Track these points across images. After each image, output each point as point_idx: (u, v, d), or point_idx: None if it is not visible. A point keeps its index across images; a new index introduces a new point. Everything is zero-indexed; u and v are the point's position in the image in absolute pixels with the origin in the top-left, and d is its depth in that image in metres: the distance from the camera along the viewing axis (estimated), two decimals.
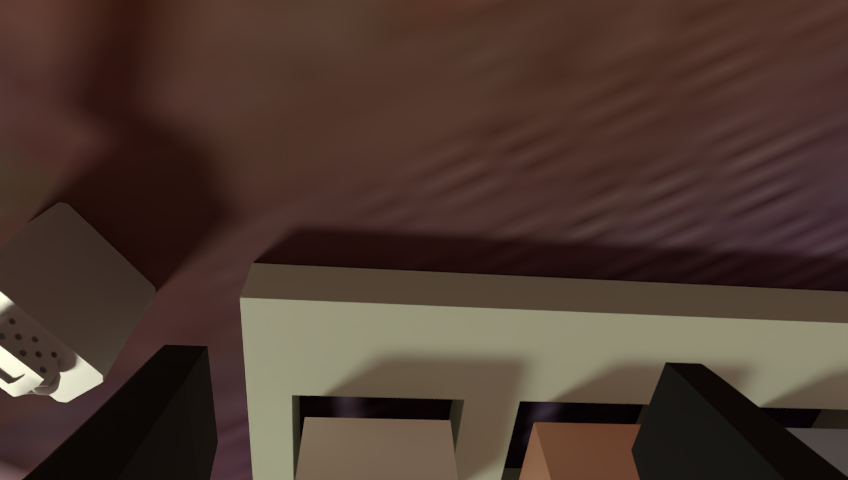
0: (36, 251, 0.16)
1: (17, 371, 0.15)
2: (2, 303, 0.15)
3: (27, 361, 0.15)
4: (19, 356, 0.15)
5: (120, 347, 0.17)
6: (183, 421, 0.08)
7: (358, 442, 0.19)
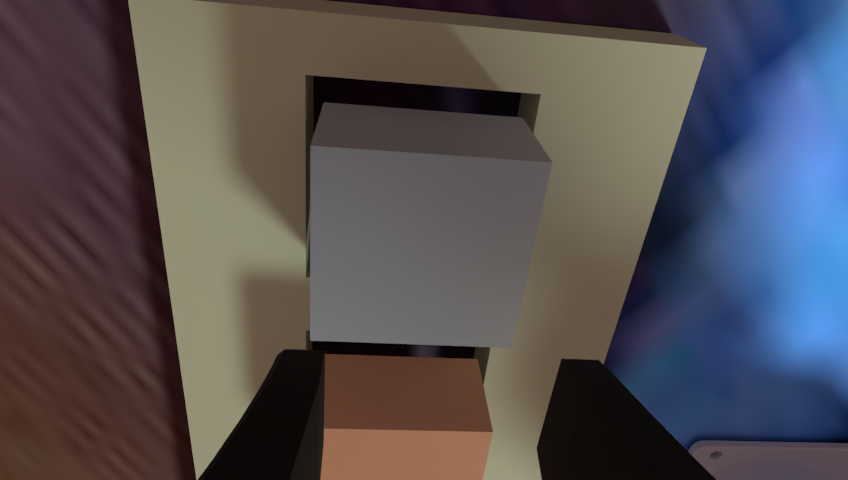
0: None
1: None
2: None
3: None
4: None
5: None
6: (315, 424, 0.08)
7: None
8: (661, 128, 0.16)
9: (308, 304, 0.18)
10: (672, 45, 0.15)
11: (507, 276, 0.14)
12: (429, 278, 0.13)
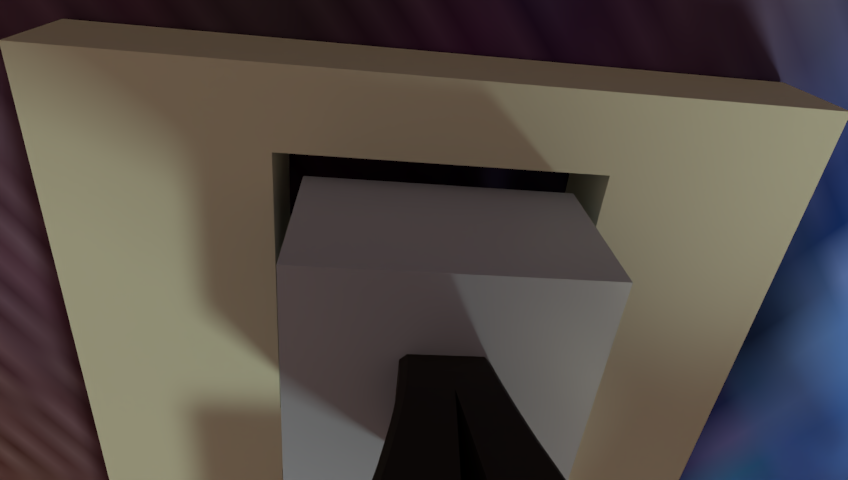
0: None
1: None
2: None
3: None
4: None
5: None
6: None
7: None
8: (774, 219, 0.11)
9: None
10: (802, 108, 0.10)
11: (558, 424, 0.10)
12: None
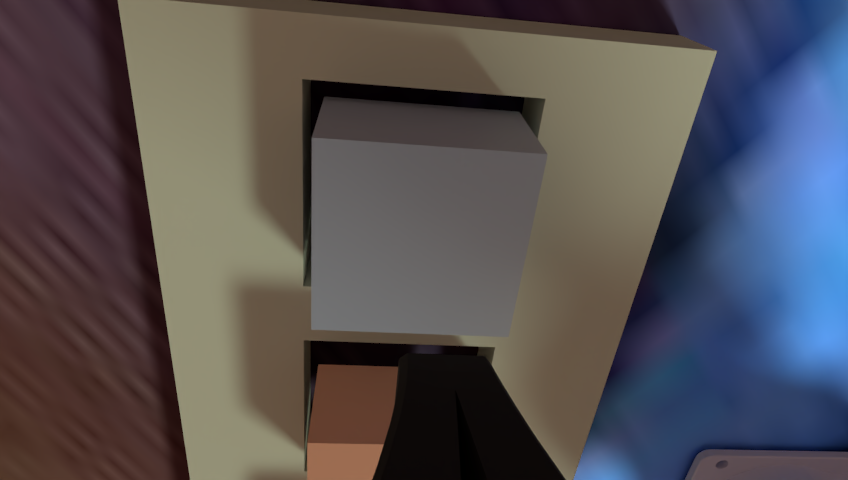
0: None
1: None
2: None
3: None
4: None
5: None
6: None
7: None
8: (669, 133, 0.15)
9: (306, 314, 0.17)
10: (681, 48, 0.14)
11: (504, 266, 0.14)
12: (428, 268, 0.14)
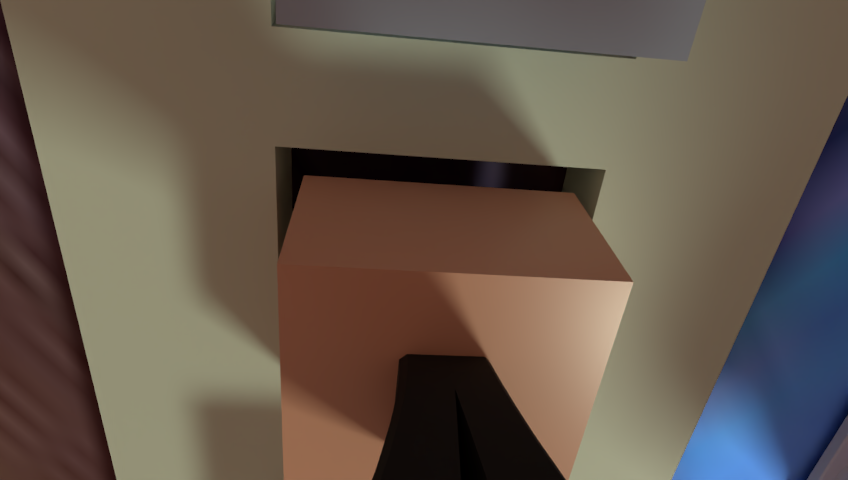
0: None
1: None
2: None
3: None
4: None
5: None
6: None
7: None
8: None
9: (277, 89, 0.10)
10: None
11: None
12: None
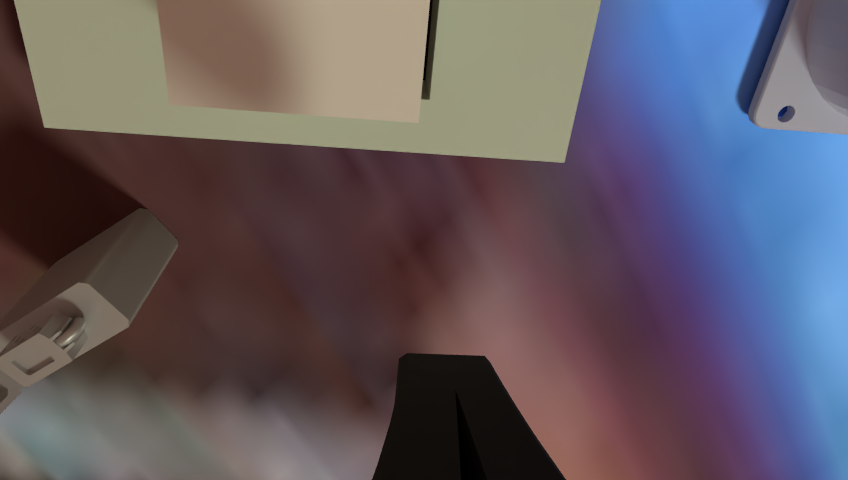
0: (23, 299, 0.17)
1: (42, 350, 0.15)
2: (3, 340, 0.16)
3: (23, 340, 0.15)
4: (20, 345, 0.15)
5: (102, 257, 0.16)
6: None
7: None
8: None
9: None
10: None
11: None
12: None
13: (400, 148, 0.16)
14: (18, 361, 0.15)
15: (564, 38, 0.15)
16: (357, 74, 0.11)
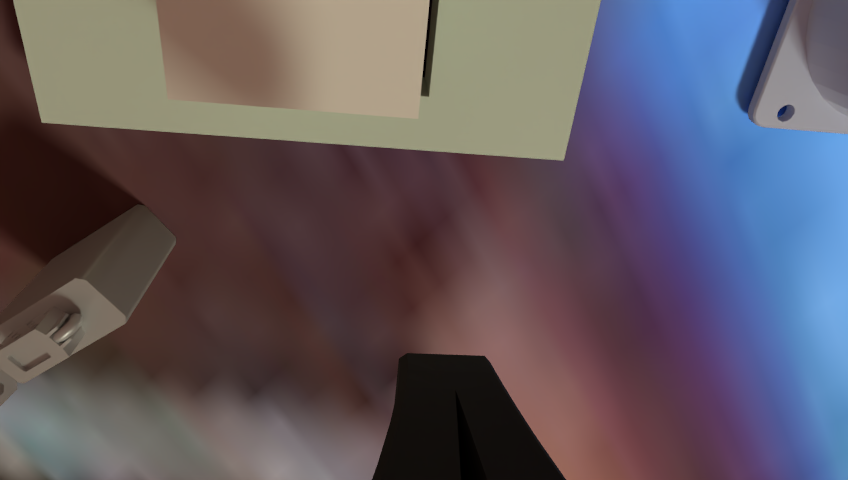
0: (20, 296, 0.17)
1: (38, 346, 0.15)
2: None
3: (20, 336, 0.15)
4: (17, 340, 0.15)
5: (99, 253, 0.16)
6: None
7: None
8: None
9: None
10: None
11: None
12: None
13: (399, 145, 0.16)
14: (14, 357, 0.15)
15: (564, 35, 0.15)
16: (357, 69, 0.11)
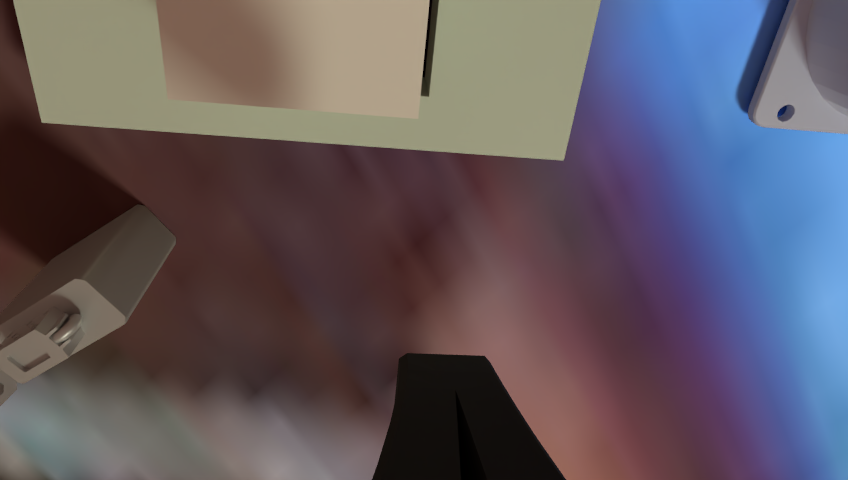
0: (20, 296, 0.17)
1: (38, 346, 0.15)
2: None
3: (19, 336, 0.15)
4: (17, 341, 0.15)
5: (99, 253, 0.16)
6: None
7: None
8: None
9: None
10: None
11: None
12: None
13: (399, 145, 0.16)
14: (14, 357, 0.15)
15: (564, 35, 0.15)
16: (357, 69, 0.11)
